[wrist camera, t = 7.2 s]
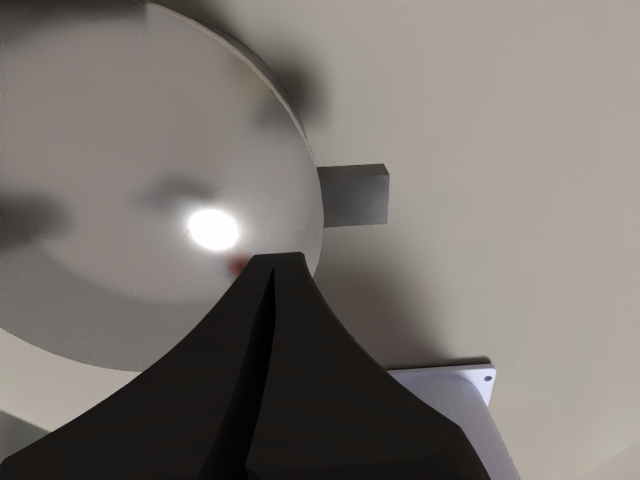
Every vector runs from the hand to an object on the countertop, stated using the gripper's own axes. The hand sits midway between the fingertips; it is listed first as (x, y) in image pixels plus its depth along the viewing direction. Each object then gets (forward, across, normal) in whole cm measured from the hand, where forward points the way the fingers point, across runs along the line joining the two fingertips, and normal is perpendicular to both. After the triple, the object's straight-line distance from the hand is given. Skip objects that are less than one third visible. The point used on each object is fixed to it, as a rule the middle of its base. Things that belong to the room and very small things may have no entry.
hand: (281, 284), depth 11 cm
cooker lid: (+4, +6, -1) cm, 7 cm away
